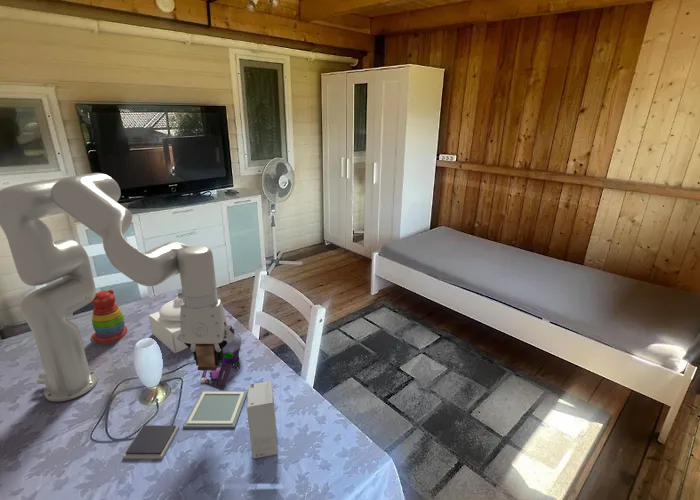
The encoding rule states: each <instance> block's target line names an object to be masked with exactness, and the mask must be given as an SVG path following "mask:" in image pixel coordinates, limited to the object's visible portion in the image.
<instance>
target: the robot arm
mask: <svg viewBox="0 0 700 500" xmlns="http://www.w3.org/2000/svg"><path fill="white" fill-rule="evenodd" d="M121 194H122V193H121V188H120V186H119V184H118V181H116V180H115V179H114V178H112V177H111V176H109V175H108V174H105V173H101V172H91V173H86V174H79V175H73V176H71V175H70V176H67V177H60V178H53V179H47V180H46V179H44V180H39V181H38V180H36V181H31V182H24V183H19V184H14V185H11V186H7V187H4V188H2V189H0V227H1V230H2V231H3V233H4V235H5V237H6V239H7V244H8V245H9V246H8V247H9V251H10V253H11V256H12V259H13V262H14V265H15V269H16V271H17V272H16V273H17V275H18V277H19V279H20V280H21V281H22V282H23V284H25V285H27V286H31V287H38V286H42V285H45V284H48V285H45V286H42V287H39V288H38V289H36V290H34V291H32V292H30V293H28V294H27V295H26V296H24V298H23V299H22V301H21V302H20V305H19V309H20V312H21V314H22V317H23V318H24V320H25V322H26V323H27V325H28V326H29V328H30V330H31V332H32V335H33V337H34V340H35V344H36V347H37V349H38V354H39V357H40V359H41V362H42V366H43V369H44V372H43V371H41V372H40V373H39V375H38V379H37V380H36V384H38V385H45V387H46V388H45V389H44V391H43V393H44V394H43V395H44V397H45V399H46V400H47V401H49V402H56V403H57V402H65V401H70V400H73V399H76V398H79V397H81V396H82V395H84V394H87V393H88V392H89V391H91V390H92V389H93V388H94V387H95V386H96V384H97V383H98V381H99V376H98V374H97V372H96V371H93V370H90V368H89V363H88V359H87V355H86V351H85V349H84V348H85V347H84V344H83V340H82V336H81V333H80V329H79V328H78V326H77V325H76V324H75V323H74V322H72V321H70V320H69V319H68V318H67V317H69V316H70V315H72V314H73V313H75V312H77V311H78V310H80V309H82V308H84V307H86V306H87V305H89V304H90V303H92V301H93V299H94V298H95V295H96V293H97V292H96V290H97V289H96V283H95V279H94V275H93V270H92V266H91V261H90V259H89V255H88V253H87V251H86V249H85V248H84V247H83V246H82V245H81V244H80V243H79V242H78V241H76V240H74V239H71V238H65V239H58V240H56V241H55V240H54V239H53V235H52V232H51V230H50V228H49V226H48V225H47V224H46V223H45V222H44V221H42V220H41V219H43V218H46V217H50V216H56V215H59V214H63V213H67V214H68V215H69V216H71V217H72V218H74V219H75V220H76V221H78V223H81V224H82V225H83V226H85V227H86V228H87V229H89V230H91V232H93V233H95V234H96V235H98V236H99V237H100V238H101V239H102V246H103V250H104V252H105V255H106V257H107V259H108V261H109V262H110V263H111V265H112V266H113V267H114V268H115V269H116V270H117V271H118V272H120V273H121V274H122V275H124V276H125V277H127V278H129V279H130V280H132V281H133V282H135V283H137V284H139V285H142V286H145V287H155V286H158V285H160V284H162V283H163V282H165V281H167V280H168V279H170V278H171V277H173V276H175V275H178V274H179V276H180V277H179V278H180V283H181V284H180V285H181V290H182V292H178V293H177V297H178V298H181V299H183V304H182V305H181V310H180V329H181V333H180V334H179V336H178V337H177V340H179V341H181V342H182V343H185V345H186V346H188V348H189V350H190V352H192V355H193V360H194V361H195V366H198V362H197V355H196V349H195V346H196V344H214V347H215V352H214V356H215V364H216V366H218V367H219V366H220V365H221V364H220V363H222V362H223V361H222V360H223V348H224V347H225V346H226V345H227V344H228V343H230V342H232V341H233V340H234V338H235V335H236V334H235V333H234V334H235V335H234V334H233V333H232V332H231V331H230V330H229V329H228V328H227V326H228V321H227V317H226V312H225V309H224V305H223V304H222V301H221V299H220V298H218V289H217V281H216V272H215V265H214V255H213V252H212V250H211V248H210V247H207V246H203V245H194V246H193V245H189V244H185V243H182V242H178V241H169V242H165V243H164V244H161V245H159V246H156V247H154V248H152V249H150V250H148V251H146V252H142V251H141V250H140V249H138V248H137V247H135V246H134V245H132V244H131V243H130V242H129V241H128V240H127V238H126V237H125V236H124V235H125V234H126V232H127V231H128V230H129V228H130V226H131V224H132V221H133V213H132V212H131V211H130V210H129V209H128V208H126V207H125V206H123V205H122V204H120V203H119V202H118V201H119V200H120V199H121ZM61 278H62V279H61ZM58 279H59V280H58ZM50 282H51V283H50ZM52 282H53V283H52ZM224 336H226V337H227V338H225V339H224Z"/></svg>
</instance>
